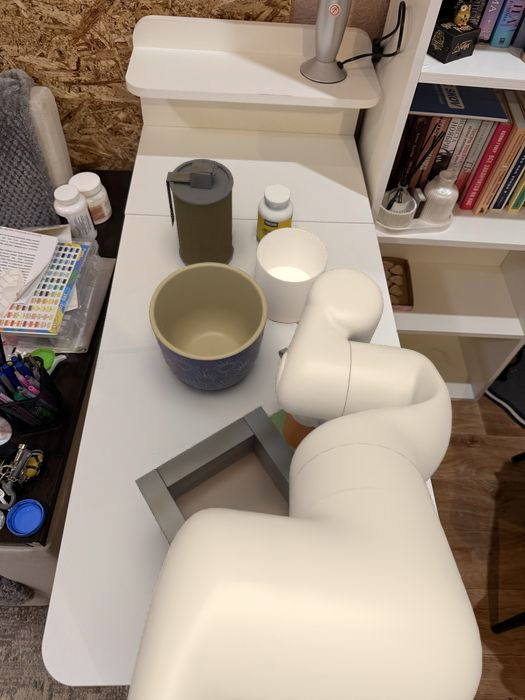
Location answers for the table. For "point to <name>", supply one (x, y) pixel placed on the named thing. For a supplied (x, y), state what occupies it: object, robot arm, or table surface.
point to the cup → (288, 271)
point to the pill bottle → (274, 210)
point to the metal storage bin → (223, 474)
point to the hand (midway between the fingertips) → (307, 414)
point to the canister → (202, 210)
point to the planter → (209, 323)
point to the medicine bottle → (296, 429)
